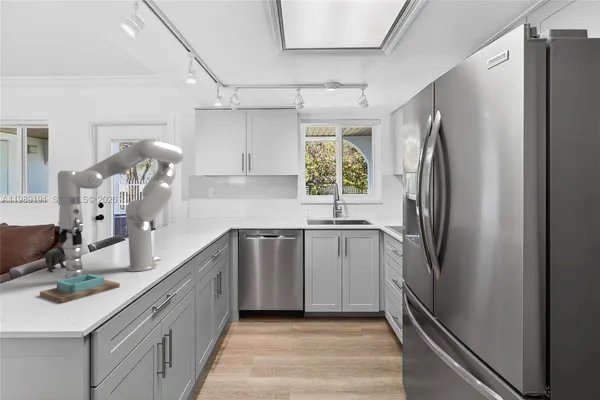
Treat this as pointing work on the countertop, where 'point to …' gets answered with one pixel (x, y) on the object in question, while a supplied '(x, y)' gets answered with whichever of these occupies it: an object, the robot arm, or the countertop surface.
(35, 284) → the countertop surface
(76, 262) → the silver aluminum bottle
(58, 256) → the dinosaur figurine
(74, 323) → the countertop surface
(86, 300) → the countertop surface
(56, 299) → the walnut jig board
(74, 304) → the countertop surface
